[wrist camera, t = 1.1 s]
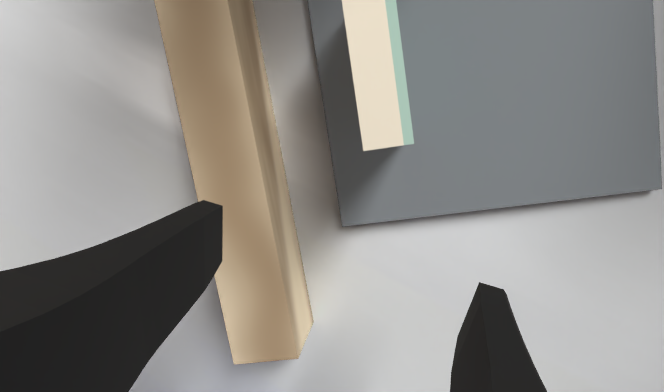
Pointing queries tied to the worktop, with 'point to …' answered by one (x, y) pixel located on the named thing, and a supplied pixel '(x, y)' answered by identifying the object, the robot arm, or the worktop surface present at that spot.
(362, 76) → the tile
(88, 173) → the worktop surface
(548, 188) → the mat
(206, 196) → the tan wooden plank
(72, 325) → the robot arm
